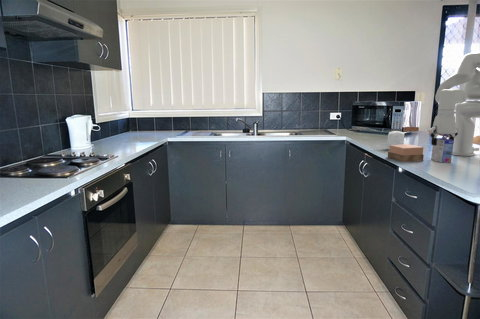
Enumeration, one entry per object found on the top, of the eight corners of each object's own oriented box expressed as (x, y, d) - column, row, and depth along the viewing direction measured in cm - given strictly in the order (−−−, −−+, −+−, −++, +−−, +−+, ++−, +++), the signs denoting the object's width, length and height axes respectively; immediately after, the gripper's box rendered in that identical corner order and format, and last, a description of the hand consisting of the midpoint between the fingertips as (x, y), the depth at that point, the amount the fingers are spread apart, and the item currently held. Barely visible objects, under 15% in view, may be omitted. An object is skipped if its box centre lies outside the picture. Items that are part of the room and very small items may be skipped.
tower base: (408, 157, 185) (408, 150, 184) (423, 161, 172) (423, 154, 171) (387, 158, 184) (387, 151, 183) (400, 162, 171) (401, 155, 170)
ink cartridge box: (452, 162, 166) (455, 135, 163) (441, 162, 166) (444, 135, 163) (440, 159, 176) (442, 133, 173) (430, 159, 176) (433, 133, 173)
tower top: (407, 150, 183) (408, 144, 182) (422, 154, 172) (423, 147, 171) (389, 152, 181) (389, 145, 181) (403, 155, 170) (403, 148, 169)
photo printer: (401, 148, 211) (403, 130, 209) (404, 149, 207) (405, 131, 205) (385, 148, 212) (387, 130, 210) (388, 149, 208) (389, 131, 206)
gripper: (455, 113, 170) (451, 144, 173) (425, 113, 168) (422, 144, 171) (466, 113, 163) (462, 145, 166) (435, 113, 161) (432, 146, 164)
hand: (442, 145), depth 169 cm, fingers open, 9 cm apart
